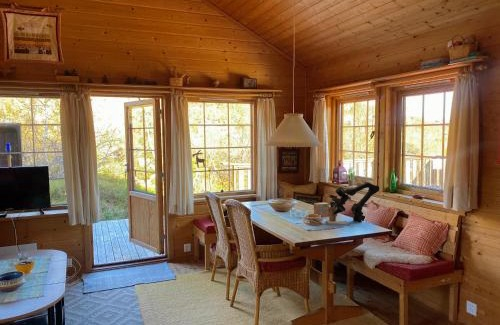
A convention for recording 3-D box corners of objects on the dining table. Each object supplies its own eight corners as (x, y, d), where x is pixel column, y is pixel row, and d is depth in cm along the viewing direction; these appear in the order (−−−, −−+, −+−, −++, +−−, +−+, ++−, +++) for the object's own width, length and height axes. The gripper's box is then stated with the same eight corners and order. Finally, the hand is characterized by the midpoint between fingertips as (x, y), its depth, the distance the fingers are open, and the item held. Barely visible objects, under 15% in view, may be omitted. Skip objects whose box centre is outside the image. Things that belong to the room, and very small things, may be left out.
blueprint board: (346, 222, 334) (346, 219, 334) (349, 225, 323) (349, 222, 323) (325, 221, 334) (325, 219, 333) (328, 225, 323) (328, 222, 322)
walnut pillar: (333, 221, 332) (333, 207, 331) (335, 222, 328) (336, 208, 327) (329, 221, 331) (329, 207, 330) (331, 222, 327) (332, 208, 326)
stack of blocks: (334, 214, 364) (334, 201, 363) (337, 216, 358) (337, 203, 357) (313, 215, 359) (313, 202, 358) (316, 217, 353) (316, 204, 352)
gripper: (332, 192, 337) (320, 205, 335) (342, 195, 320) (330, 209, 317) (339, 200, 340) (328, 213, 338) (350, 204, 323) (338, 218, 320)
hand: (331, 213), depth 328 cm, fingers open, 9 cm apart
